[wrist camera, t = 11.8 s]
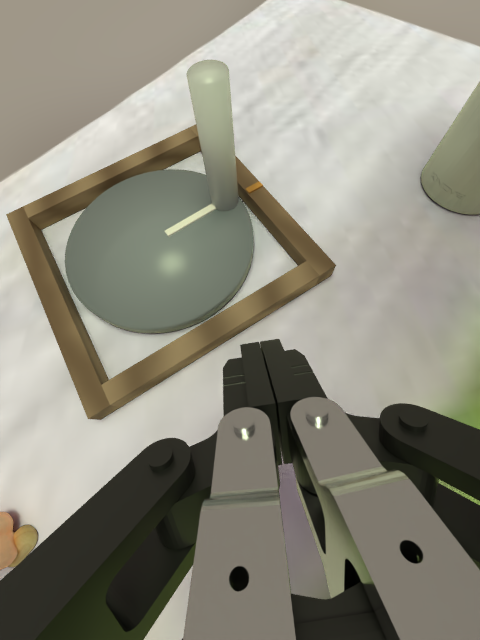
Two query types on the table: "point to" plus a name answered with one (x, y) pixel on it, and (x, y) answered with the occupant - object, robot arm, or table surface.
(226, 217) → the dial
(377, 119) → the table surface
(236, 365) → the robot arm
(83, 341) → the dial frame
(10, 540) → the grandmother figurine
